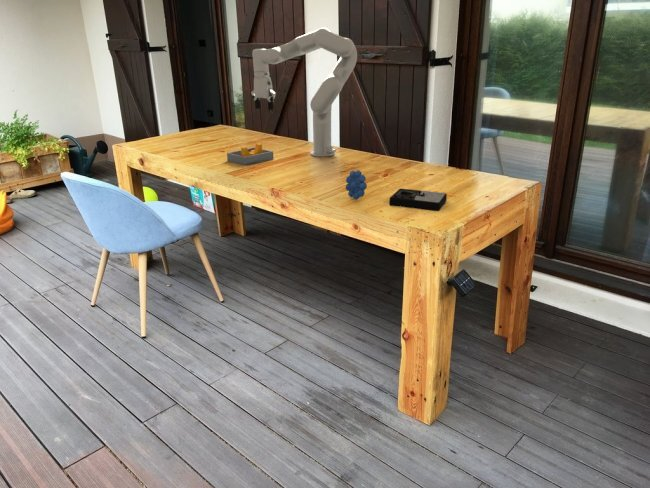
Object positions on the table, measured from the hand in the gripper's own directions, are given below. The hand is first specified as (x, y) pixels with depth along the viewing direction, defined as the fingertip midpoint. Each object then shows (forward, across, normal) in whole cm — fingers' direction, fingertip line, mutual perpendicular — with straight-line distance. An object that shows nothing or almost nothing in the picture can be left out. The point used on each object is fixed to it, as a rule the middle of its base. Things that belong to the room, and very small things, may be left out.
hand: (264, 109), depth 275 cm
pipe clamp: (+22, -4, +15) cm, 27 cm away
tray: (+23, -3, +15) cm, 28 cm away
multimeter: (+26, -107, +23) cm, 113 cm away
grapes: (+25, -86, +34) cm, 95 cm away
